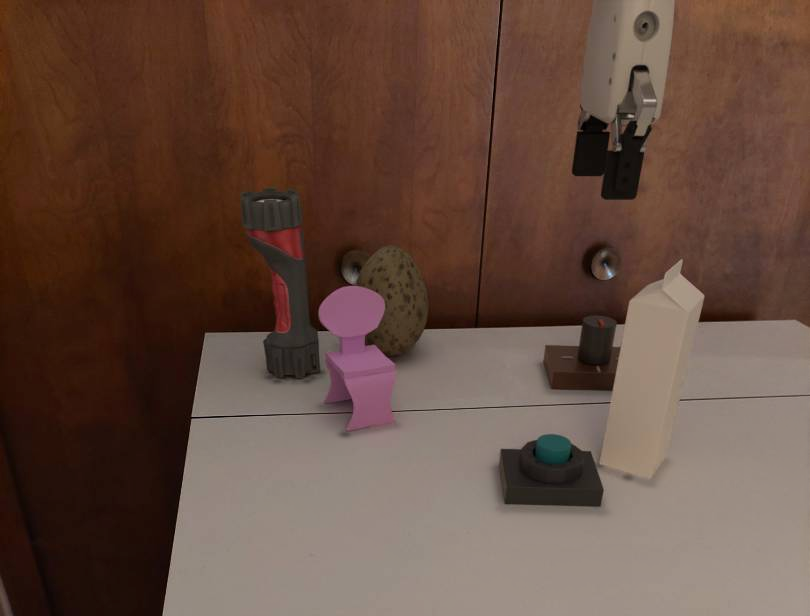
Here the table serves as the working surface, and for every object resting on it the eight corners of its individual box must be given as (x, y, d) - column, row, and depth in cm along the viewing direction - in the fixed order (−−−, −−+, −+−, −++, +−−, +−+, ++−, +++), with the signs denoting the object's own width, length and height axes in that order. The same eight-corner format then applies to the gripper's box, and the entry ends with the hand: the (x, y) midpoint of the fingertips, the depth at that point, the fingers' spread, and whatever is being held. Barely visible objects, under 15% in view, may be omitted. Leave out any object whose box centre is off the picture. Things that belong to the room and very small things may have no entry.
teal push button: (566, 448, 86) (568, 434, 85) (571, 465, 83) (573, 451, 82) (533, 447, 86) (535, 433, 85) (536, 464, 83) (538, 450, 82)
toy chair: (340, 434, 95) (336, 311, 86) (316, 403, 102) (310, 286, 93) (404, 422, 98) (406, 301, 89) (376, 393, 104) (376, 278, 96)
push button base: (587, 468, 90) (593, 436, 88) (600, 507, 83) (606, 474, 81) (498, 465, 90) (502, 434, 88) (504, 504, 83) (508, 471, 81)
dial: (574, 351, 110) (580, 312, 107) (606, 352, 110) (613, 313, 107) (580, 364, 107) (586, 324, 104) (613, 365, 107) (620, 325, 104)
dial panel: (627, 363, 114) (631, 345, 112) (641, 391, 106) (645, 372, 105) (543, 361, 114) (545, 343, 112) (551, 388, 106) (553, 370, 105)
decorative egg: (441, 353, 115) (447, 247, 107) (389, 375, 109) (390, 263, 100) (388, 333, 121) (389, 230, 113) (336, 352, 115) (332, 245, 106)
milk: (666, 457, 92) (714, 263, 79) (649, 480, 88) (698, 279, 75) (615, 442, 95) (654, 252, 82) (597, 464, 91) (635, 267, 78)
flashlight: (245, 369, 110) (226, 191, 96) (291, 355, 114) (279, 182, 101) (278, 388, 105) (263, 203, 92) (325, 372, 109) (317, 194, 96)
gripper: (722, -31, 60) (672, 209, 70) (643, -33, 74) (611, 168, 84) (625, -34, 59) (589, 209, 69) (564, -35, 73) (542, 167, 83)
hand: (601, 186), depth 77 cm, fingers open, 9 cm apart
